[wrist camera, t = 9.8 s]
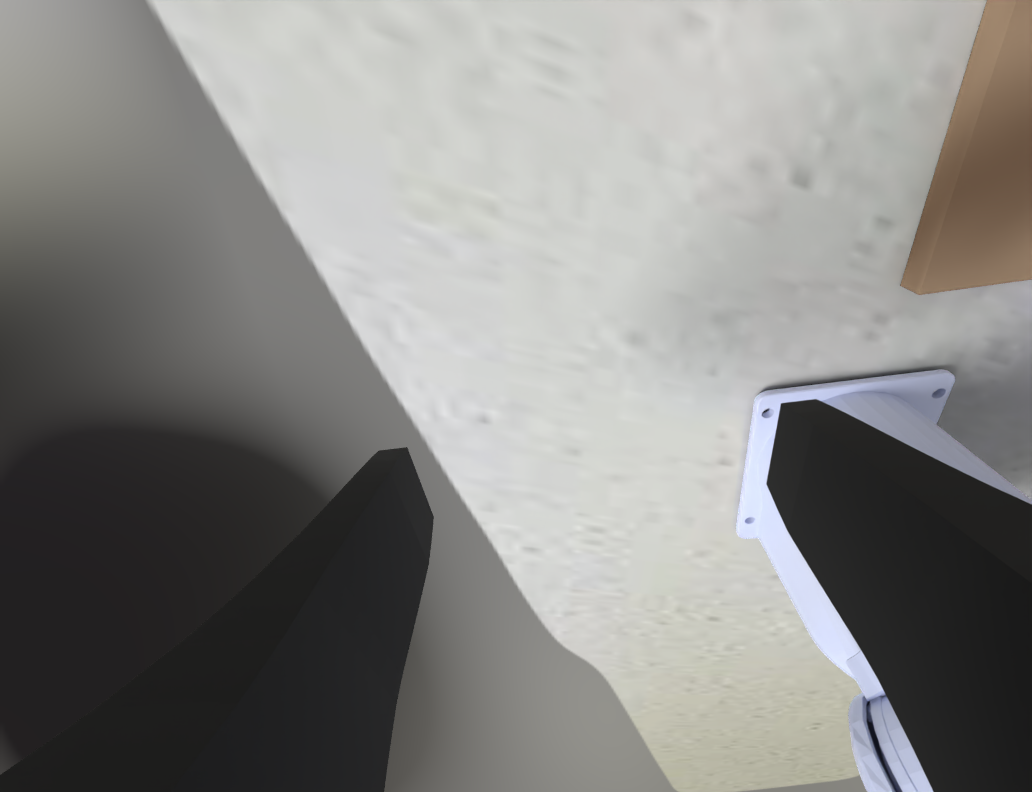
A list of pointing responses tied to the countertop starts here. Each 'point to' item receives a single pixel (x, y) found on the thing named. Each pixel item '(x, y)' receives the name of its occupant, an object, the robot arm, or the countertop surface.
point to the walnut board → (983, 167)
